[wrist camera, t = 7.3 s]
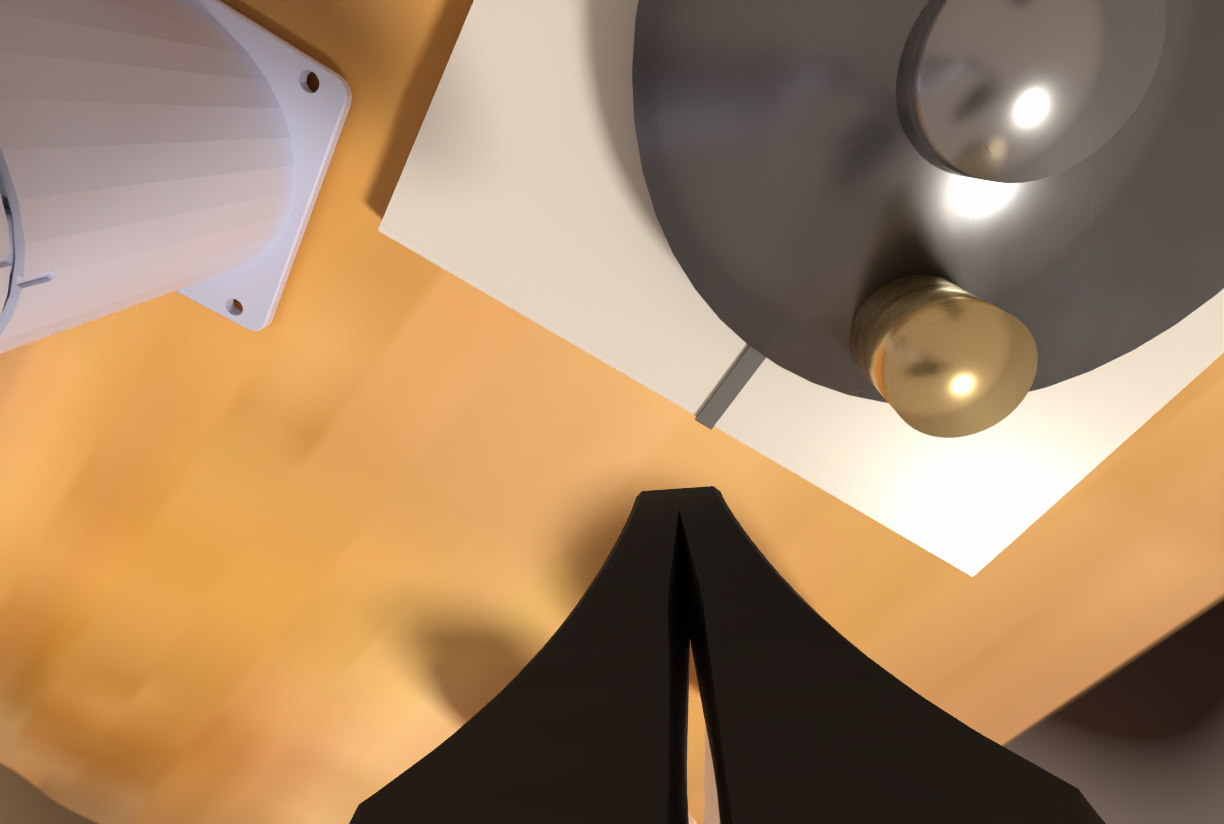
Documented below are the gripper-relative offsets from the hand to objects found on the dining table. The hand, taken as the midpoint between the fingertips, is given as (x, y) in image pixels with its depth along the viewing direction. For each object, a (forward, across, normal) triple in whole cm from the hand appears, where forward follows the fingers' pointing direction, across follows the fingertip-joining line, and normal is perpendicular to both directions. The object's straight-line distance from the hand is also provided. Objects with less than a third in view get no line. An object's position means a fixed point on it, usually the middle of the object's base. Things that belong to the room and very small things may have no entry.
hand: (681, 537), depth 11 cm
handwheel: (+8, -8, -7) cm, 13 cm away
